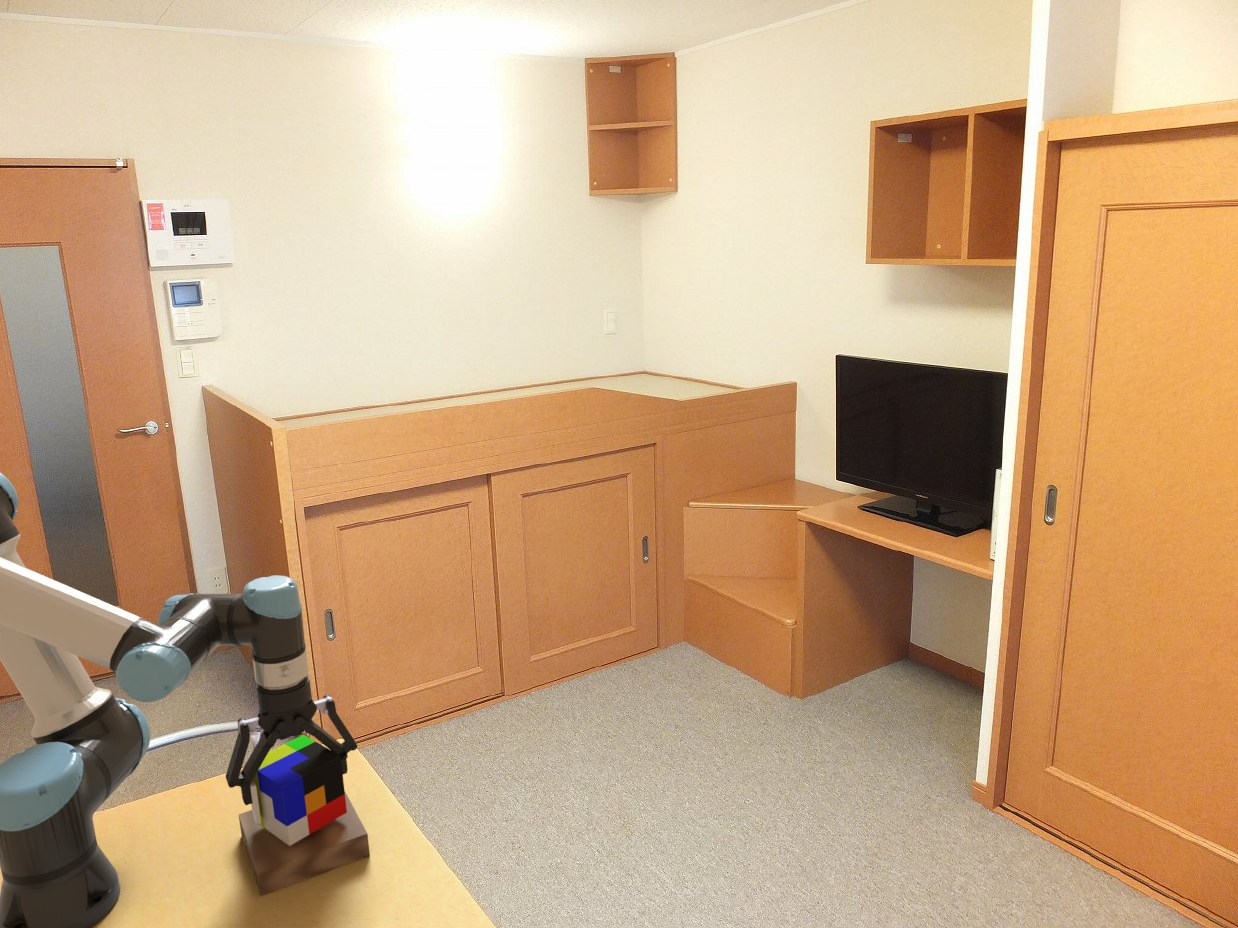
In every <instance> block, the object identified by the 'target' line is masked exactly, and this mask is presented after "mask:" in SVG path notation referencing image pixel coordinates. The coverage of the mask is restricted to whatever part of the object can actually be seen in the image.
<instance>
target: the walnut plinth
mask: <svg viewBox="0 0 1238 928" xmlns="http://www.w3.org/2000/svg"><path fill="white" fill-rule="evenodd" d="M345 800H346V809H347V813H345V814H344V815H342V816H340V817H338V818H337V819H335V820H333V821H332V822H330V823H328V824H326V825H325V826H323V827H321V828H320V829H318V830H316V831H315V832H313V833H311V834H309V835H308V836H306V837H304V838H303V839H301V840H299V841H297V842H296V843H294V844H292V845H291V846H289V845H287V844H286V843H285V842H283V841H282V840H280V839H279V838H278V837H276V836H275V835H273V834H272V833H271V832H269V831H268V830H266V829H265V828H264V827H262V826H261V825H259V824H258V825H256V823H255V821H254V820H253V814H252V809H250V810H247V811H245V812H241V813H238V815H237V816H238V821H239V827H240V834H241V838H242V841H243V844H244V847H245V850H246V854H247V856H248V859H249V863H250V866H251V868H252V872H253V874H254V875H253V876H254V878H255V881H256V884H257V888H258V890H259V893H260V896H261V897H263V896H264V895H267V894H270V893H272V892H275V891H279V890H280V889H284V888H286V887H289V886H292V885H295V884H297V883H300V882H303V881H306V880H308V879H311V878H314V877H316V876H317V877H318V876H319V875H321V874H325V873H328V872H330V871H333V870H335V869H338V868H340V867H343V866H346V865H349V864H352V863H355V862H357V861H360V860H363V859H365V858H368V857H370V856H371V854H370V853H371V852H370V843H369V836H368V835H369V834H368V831H367V830H366V828H365V826H364V824H363V823H362V821H361V818H360V817H359V815H358V813H357V811H356V810H355V808H354V806H353V804H352V802H351V800H350V798H349V796H348V794H347V793H346V791H345Z"/></svg>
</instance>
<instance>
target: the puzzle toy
mask: <svg viewBox="0 0 1238 928" xmlns="http://www.w3.org/2000/svg"><path fill="white" fill-rule="evenodd" d="M245 764H246V762H245ZM253 779H254V781H255V784H256V789H257V796H258V803H259V810H260V817H261V824H259V825H261V826H262V827H264V828H265V829H266V830H268V831H269V832H271V833H272V834H273V835H275V836H276V837H278V838H279V839H280V840H282V841H283V842H285V843H286V844H287V845H289V846H291V845H292V844H294V843H296V842H297V841H299V840H301V839H303V838H304V837H306V836H308V835H309V834H311V833H313V832H315V831H316V830H318V829H320V828H321V827H323V826H325V825H326V824H328V823H330V822H332V821H333V820H335V819H337V818H338V817H340V816H342V815H344V814H345V813H347V809H346V800H345V792H346V790H345V783H344V782H345V781H344V774H343V773H342V764H341V756H340V755H338V754H336V753H335V752H332V751H331V750H330V749H329V748H327V747H326V746H325V745H323V744H322V743H318V741H315V740H314V739H312V738H310V737H308V736H307V735H305V734H301V735H299V736H297V737H296V738H294V739H291V740H290V741H287V742H286V743H283V744H282V745H279V746H278V747H275V748H274V749H270V750H269V752H268V754H267V756H266V757H265V759H264V761H263V763H262V764H261V766H260V768H259V770H258V771H257V773H256V775H255V777H254V778H253ZM253 820H254V818H253ZM254 821H255V820H254Z"/></svg>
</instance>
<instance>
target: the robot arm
mask: <svg viewBox="0 0 1238 928" xmlns="http://www.w3.org/2000/svg"><path fill="white" fill-rule="evenodd" d="M18 507H19V497H18V494H17V491H16V488H15V487H14V485H13V484H12V483H11V481H10V479H9V478H7V477H6V476H5V475H4V474H3V473H2V472H0V662H1V664H2V666H3V667H4V669H5V670H6V672H7V674H8V675H9V677H10V679H11V680H12V682H13V684H14V685H15V686H16V688H17V690H18V692H19V693H20V695H21V696H22V698H23V700H24V702H25V703H26V705H27V707H28V708H29V710H30V711H31V713H32V715H33V717H34V718H35V719H34V720H35V721H34V724H33V727H32V730H31V731H30V736H31V737H32V738H33V740H34V742H35V745H32V746H29V747H27V748H25V749H24V750H25V751H23V752H16V753H15V754H13V755H11V756H9V757H7V758H6V759H5V760H4V761H2V762H1V763H0V871H1V875H2V883H1V888H0V928H91V927H93V926H94V925H96V924H97V923H99V922H100V921H101V920H102V919H103V918H105V917H106V916H107V914H109V912H110V911H112V909H113V908H114V907H115V905H116V903H117V902H118V900H119V898H120V893H121V884H120V879H119V875H118V874H119V873H118V872H117V870H116V868H115V867H114V865H113V864H112V863H111V861H110V860H109V858H108V857H107V856H106V854H105V853H104V851H103V850H102V849H101V848H100V845H98V841H97V840H98V839H97V836H96V830H95V825H94V820H93V818H94V814H95V812H97V810H98V809H99V808H100V807H101V806H102V805H103V804H104V803H105V801H106V800H108V798H109V797H110V796H111V795H112V794H113V793H114V792H115V791H116V790H117V789H118V788H119V786H121V784H122V783H124V781H125V780H126V779H127V778H128V777H129V776H131V775H132V774H133V773H134V772H135V771H136V770H137V768H138V767H139V765H140V763H141V762H142V760H143V758H144V757H145V756H146V754H147V752H148V749H149V746H150V744H151V730H150V729H151V728H150V724H149V722H148V720H147V717H146V716H145V714H144V713H143V712H142V710H141V709H140V708H139V707H138V706H137V705H135V704H134V703H128V701H127V700H125V699H123V698H120V697H115V696H114V694H113V692H112V691H111V690H110V689H107V688H103V687H102V688H101V687H98V686H95V684H94V683H93V681H92V679H91V677H90V676H89V674H88V673H87V671H86V669H85V667H84V665H83V664H82V662H81V660H80V659H79V658H82V659H84V660H87V661H89V662H91V663H93V664H96V665H98V666H101V667H103V668H106V669H108V670H110V671H113V672H114V673H115V676H116V680H117V684H118V686H119V688H120V689H121V690H123V691H124V693H126V694H127V696H128V697H129V698H131V699H133V700H135V701H136V702H142V703H154V702H158V701H161V700H163V699H164V698H166V697H168V696H169V695H170V694H171V693H173V692H174V691H175V690H176V689H178V688H179V687H180V686H182V685H183V684H185V682H186V680H187V679H188V678H189V676H190V675H191V674H192V673H193V672H194V671H195V670H196V669H197V667H198V666H200V664H201V663H202V662H203V661H205V660H206V659H207V658H208V657H209V656H210V655H211V654H212V653H213V652H214V651H215V650H216V649H217V648H218V647H222V646H223V647H225V646H227V647H229V646H231V647H232V646H234V647H235V646H236V647H237V646H249V647H250V651H251V658H252V665H253V673H254V681H255V683H256V688H255V689H256V693H257V695H256V696H257V703H258V710H259V712H258V714H257V716H256V717H253V718H249V719H248V718H247V719H246V718H245V717H240V718H239V719H238V720H237V730H238V733H237V735H236V736H237V737H236V740H235V743H234V747H233V750H232V753H231V756H230V760H229V763H228V767H227V770H226V774H225V779H226V783H227V786H228V788H230V789H231V788H235V787H240V792H241V798H242V802H243V804H244V805H245V806H248V805H251V810H252V814H253V818H254V820H255V823H256V825H258V824H261V817H260V810H259V803H258V796H257V789H256V784H255V781H254V779H253V778H254V777H255V775H256V773H257V771H258V770H259V768H260V766H261V764H262V763H263V761H264V759H265V757H266V756H267V754H268V752H269V751H271V750H272V749H271V748H273V747H274V746H275V745H276V743H277V741H278V740H280V741H284V740H286V739H289V738H290V737H299V736H302V735H303V734H302V733H304V732H306V733H308V734H309V735H310V736H312V737H313V738H315V739H316V740H317V741H318V742H320V744H321V745H323V746H324V747H326V748H328V749H329V750H331V751H332V752H335V753H336V754H338V755H340V756H341V764H342V773H343V775H345V774H348V761H347V759H348V753H350V752H351V751H356V750H357V749H358V743H357V742H356V740H355V739H354V737H353V736H352V734H351V733H350V731H349V729H348V728H347V727H346V725H345V723H344V722H343V720H342V719H341V717H340V716H339V714H338V713H337V709H336V702H335V700H334V699H333V697H332V696H331V695H330V694H325V695H324V696H323V697H322V698H321V699H318V700H315V701H314V700H313V696H312V695H313V694H312V688H311V687H312V686H311V679H310V675H309V664H308V663H309V662H308V656H307V647H306V642H305V640H306V639H305V632H304V631H305V630H304V620H303V605H302V602H301V598H300V594H299V587H298V583H297V582H296V581H295V580H294V579H293V578H292V577H289V576H286V575H269V576H263V577H259V578H255V579H253V580H251V581H249V582H248V583H246V585H244V588H243V592H242V593H199V592H196V593H195V592H193V593H192V592H191V593H187V594H176V595H173V596H171V597H169V598H167V600H166V601H165V602H164V603H163V607H162V609H161V610H160V612H159V616H158V621H157V623H156V622H154V621H150V620H148V619H145V618H144V617H141V616H138V615H136V614H134V613H132V612H129V611H127V610H125V609H122V608H121V607H117V606H115V605H114V604H111V603H108V602H106V601H104V600H102V599H99V598H97V597H95V596H92V595H90V594H88V593H85V592H82V591H81V590H78V589H76V588H74V587H71V586H70V585H67V584H65V583H62V582H59V581H57V580H56V579H52V578H50V577H48V576H46V575H43V574H41V573H39V572H36V571H34V570H32V569H30V568H28V567H26V565H25V564H24V562H23V561H22V559H21V557H20V555H19V553H18V551H17V546H18V543H19V541H20V538H21V533H20V532H19V530H18V528H17V526H16V524H15V523H14V520H15V518H16V516H17V514H18ZM317 710H319V711H320V712H321V713H322V714H327V715H328V718H329V719H330V721H331V722H332V724H333V725H334V727H335V729H336V730H337V731H338V733H339V735H340V736H341V738H342V740H343V742H341V743H340V742H339V741H338V740H337V739H336V738H334V737H333V736H332V735H331V734H329V733H328V732H327V731H326V730H325V729H323V728H322V727H321V726H320V725H318V724H317V723H316V722H315V721H314V720H313V719H314V717H315V714H317V713H316V712H317ZM257 727H259V728H261V729H262V730H263V731H262V732H261V734H260V738H259V740H258V742H257V744H256V745H255V747H254V749H253V750H252V752H251V754H250V756H249V758H248V759H247V761H246V762H245V763H246V764H245V765H244V761H245V758H246V755H247V751H248V749H249V744H250V739H251V736H252V735H253V734H254V733H255V731H256V728H257ZM243 765H244V766H243ZM242 767H243V768H242Z"/></svg>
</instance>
